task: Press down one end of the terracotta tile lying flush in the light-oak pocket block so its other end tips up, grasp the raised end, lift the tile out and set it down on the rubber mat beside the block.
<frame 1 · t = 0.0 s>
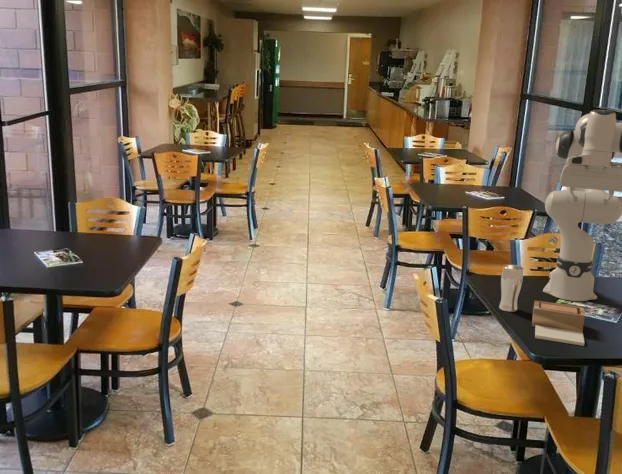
hand: (589, 203, 212), 39 cm above the table, tool pointing down, fingers open, 8 cm apart
mat: (558, 336, 202), on the table
pocket block: (556, 325, 211), on the table
tile: (558, 312, 210), point 4 cm above the table, touching pocket block
beer glass: (507, 309, 225), on the table
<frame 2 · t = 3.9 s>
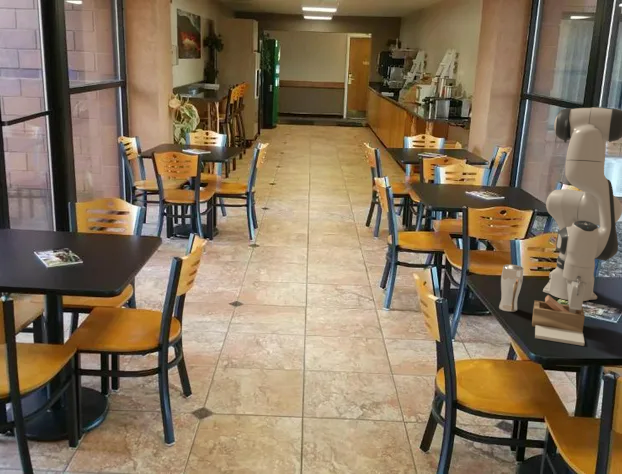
hand: (571, 314, 209), 5 cm above the table, tool pointing down, fingers closed
tile: (558, 311, 210), point 5 cm above the table, tilted 34°, touching pocket block
everything else where it was.
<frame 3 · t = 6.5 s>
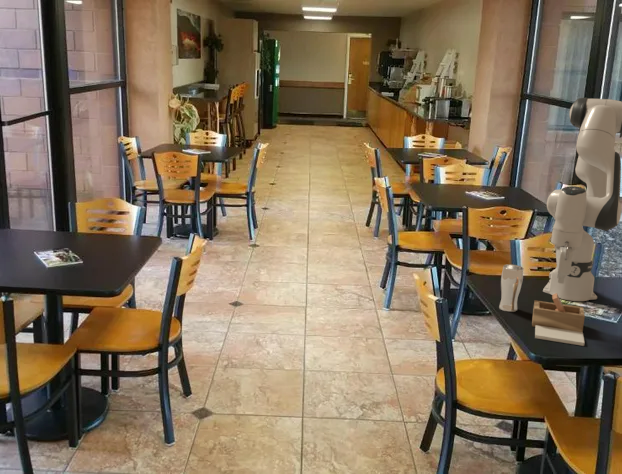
hand: (560, 280, 208), 15 cm above the table, tool pointing down, fingers open, 3 cm apart
tile: (559, 312, 210), point 5 cm above the table, tilted 58°, touching pocket block
everything else where it was.
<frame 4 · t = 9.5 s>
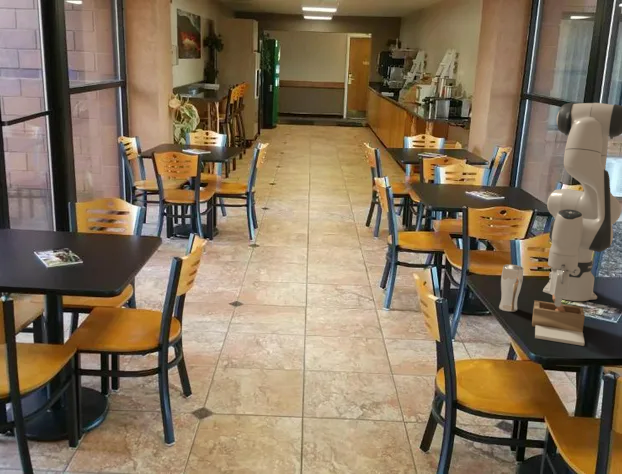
hand: (557, 302, 210), 8 cm above the table, tool pointing down, fingers closed on tile, 5 cm apart
tile: (559, 312, 210), point 5 cm above the table, tilted 59°, touching gripper, pocket block
everything else where it was.
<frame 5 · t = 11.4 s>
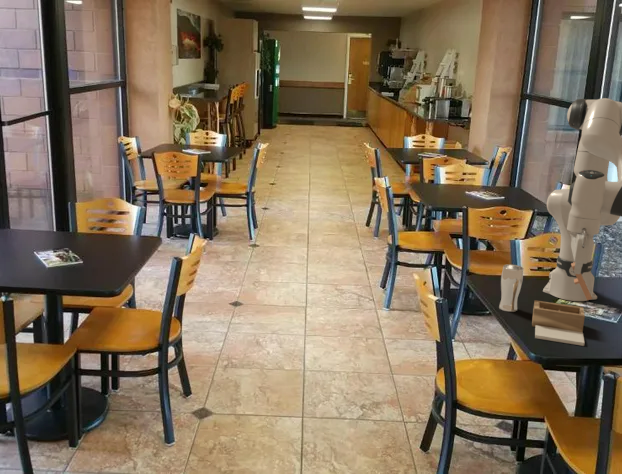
hand: (576, 270, 196), 22 cm above the table, tool pointing down, fingers closed on tile, 5 cm apart
tile: (579, 281, 196), point 18 cm above the table, tilted 60°, touching gripper
everything else where it was.
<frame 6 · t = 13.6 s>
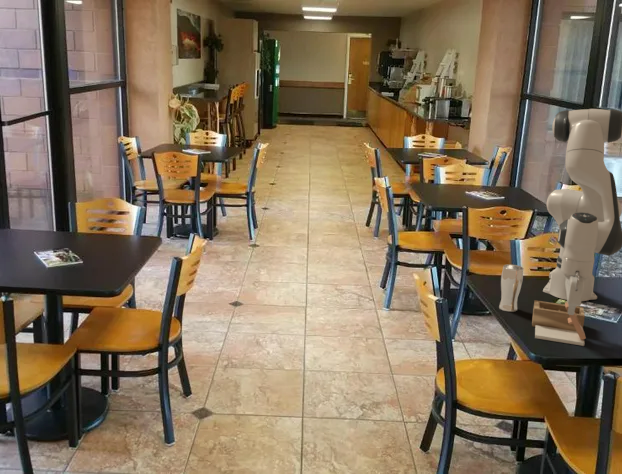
hand: (570, 310, 199), 9 cm above the table, tool pointing down, fingers closed on tile, 5 cm apart
tile: (572, 321, 199), point 6 cm above the table, tilted 59°, touching gripper, mat
everything else where it was.
when the fingers open (9 cm above the table, at t = 13.8 s): tile drops 4 cm, resting on mat.
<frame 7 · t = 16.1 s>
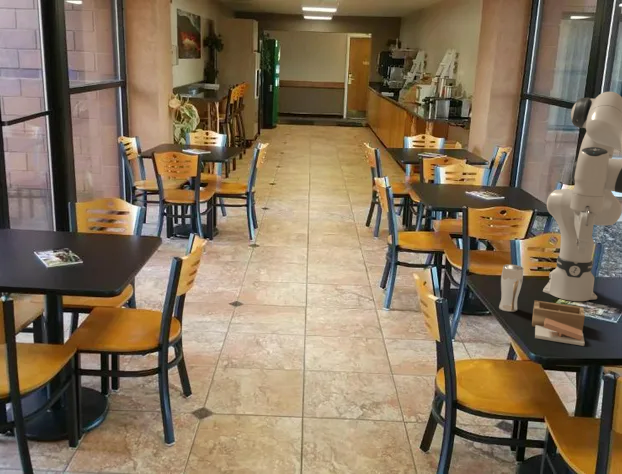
hand: (579, 249, 194), 28 cm above the table, tool pointing down, fingers open, 8 cm apart
tile: (562, 331, 201), point 2 cm above the table, tilted 12°, touching mat
everything else where it was.
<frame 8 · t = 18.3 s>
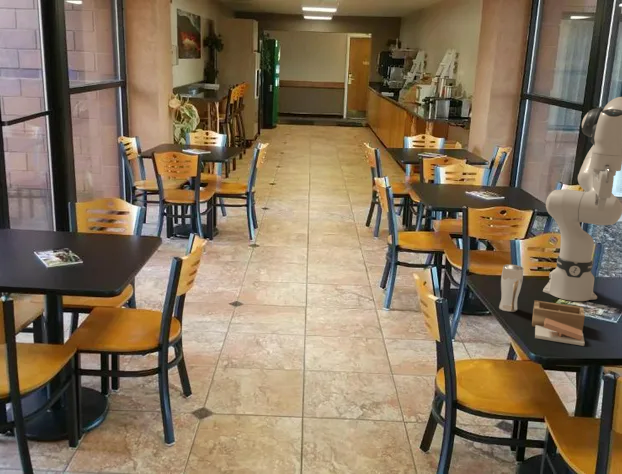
hand: (598, 207, 203), 39 cm above the table, tool pointing down, fingers open, 8 cm apart
nothing on the table moved.
at the end: tile inside the target area (0.8 cm from its centre), point 2.2 cm above the table; the gripper is holding nothing; tile moved 10.8 cm from its start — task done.
